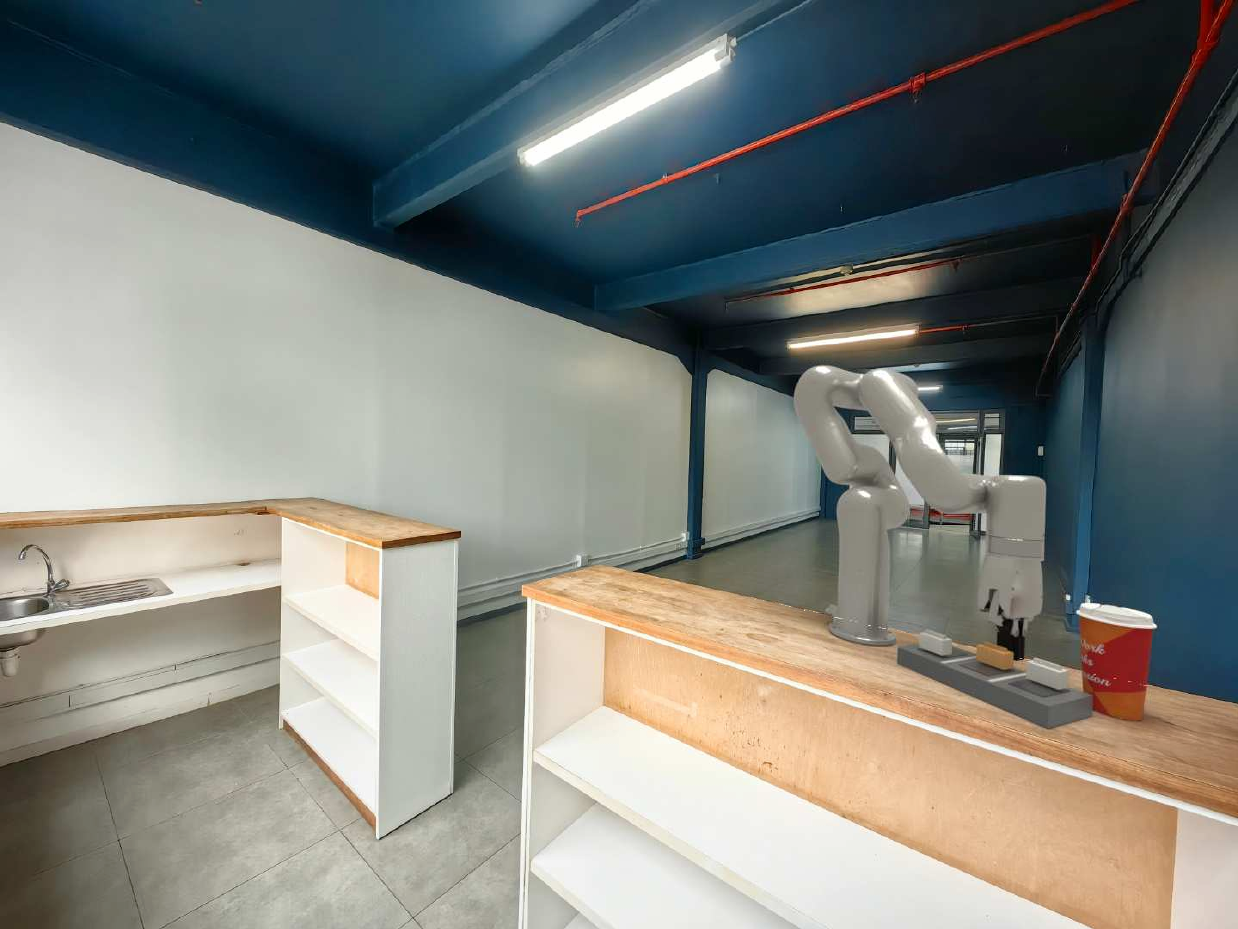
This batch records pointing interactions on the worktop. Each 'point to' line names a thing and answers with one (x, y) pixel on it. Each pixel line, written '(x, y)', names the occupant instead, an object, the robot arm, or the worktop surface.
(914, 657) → the switch panel
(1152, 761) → the worktop surface
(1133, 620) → the coffee cup
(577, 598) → the worktop surface
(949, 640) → the switch
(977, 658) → the switch
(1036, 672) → the switch
